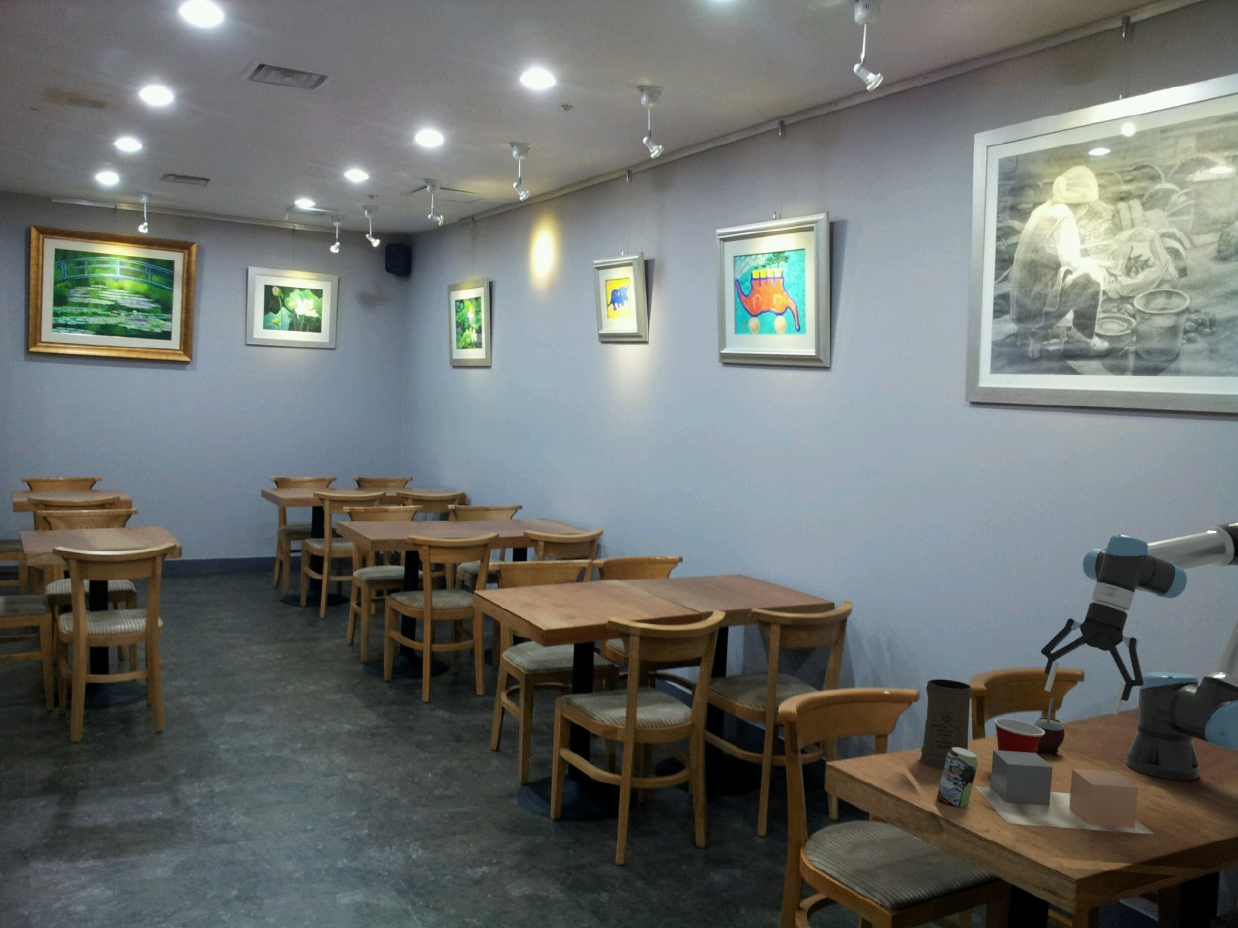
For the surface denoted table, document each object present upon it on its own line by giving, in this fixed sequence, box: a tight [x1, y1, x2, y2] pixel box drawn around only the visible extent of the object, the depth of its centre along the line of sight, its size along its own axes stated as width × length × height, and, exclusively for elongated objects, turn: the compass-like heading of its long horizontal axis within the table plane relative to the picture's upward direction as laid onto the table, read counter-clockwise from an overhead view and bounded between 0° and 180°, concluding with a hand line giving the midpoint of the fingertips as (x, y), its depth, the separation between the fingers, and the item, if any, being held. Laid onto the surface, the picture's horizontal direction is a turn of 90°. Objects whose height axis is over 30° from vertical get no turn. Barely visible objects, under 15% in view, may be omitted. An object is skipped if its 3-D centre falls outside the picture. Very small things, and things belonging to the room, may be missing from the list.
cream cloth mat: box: [974, 786, 1155, 835], centre depth 203 cm, size 28×20×1 cm
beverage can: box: [936, 747, 979, 808], centre depth 203 cm, size 6×7×12 cm
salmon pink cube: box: [1069, 768, 1139, 828], centre depth 200 cm, size 9×9×8 cm
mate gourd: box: [1034, 696, 1065, 758], centre depth 244 cm, size 8×8×15 cm
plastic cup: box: [993, 717, 1045, 754], centre depth 225 cm, size 11×11×12 cm
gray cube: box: [989, 749, 1053, 806], centre depth 209 cm, size 9×9×8 cm
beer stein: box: [919, 678, 973, 771], centre depth 230 cm, size 15×11×20 cm
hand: (1080, 702), depth 211 cm, fingers open, 13 cm apart
